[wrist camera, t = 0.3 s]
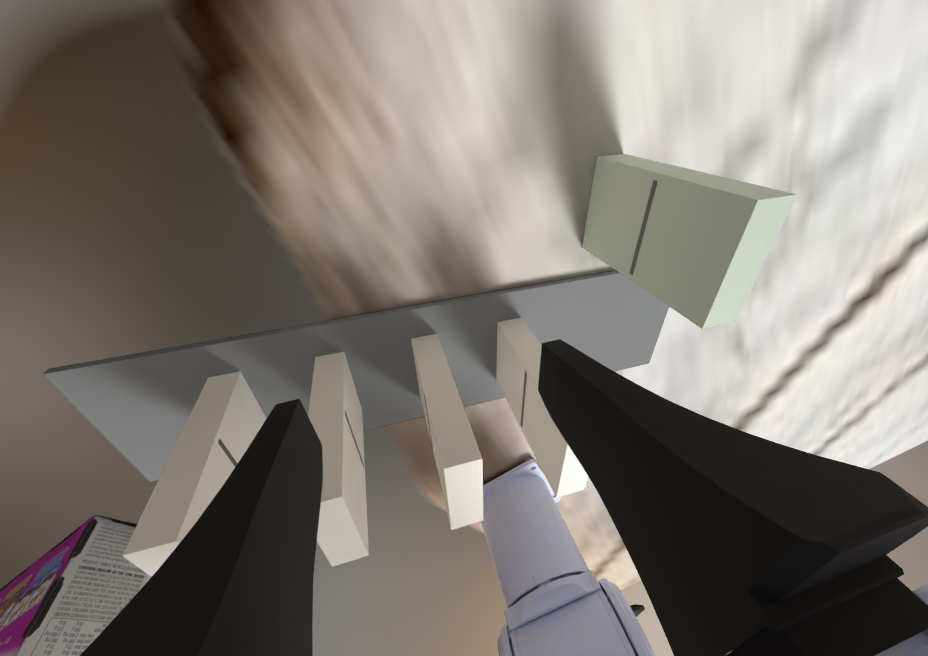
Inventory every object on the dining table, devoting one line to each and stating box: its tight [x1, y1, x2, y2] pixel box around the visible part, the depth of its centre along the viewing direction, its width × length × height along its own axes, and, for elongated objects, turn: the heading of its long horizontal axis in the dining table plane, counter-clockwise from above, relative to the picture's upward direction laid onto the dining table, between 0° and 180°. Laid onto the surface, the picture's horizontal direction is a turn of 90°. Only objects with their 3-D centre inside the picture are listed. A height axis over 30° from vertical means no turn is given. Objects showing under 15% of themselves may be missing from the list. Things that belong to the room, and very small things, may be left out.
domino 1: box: [122, 371, 267, 577], centre depth 17 cm, size 2×5×9 cm, turn 2°
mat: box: [43, 271, 669, 481], centre depth 23 cm, size 36×9×1 cm, turn 92°
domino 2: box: [308, 352, 369, 566], centre depth 18 cm, size 2×5×9 cm, turn 3°
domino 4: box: [496, 318, 588, 498], centre depth 20 cm, size 2×5×9 cm, turn 2°
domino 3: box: [411, 334, 483, 530], centre depth 19 cm, size 2×5×9 cm, turn 2°
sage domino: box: [582, 154, 797, 329], centre depth 16 cm, size 2×5×9 cm, turn 2°
